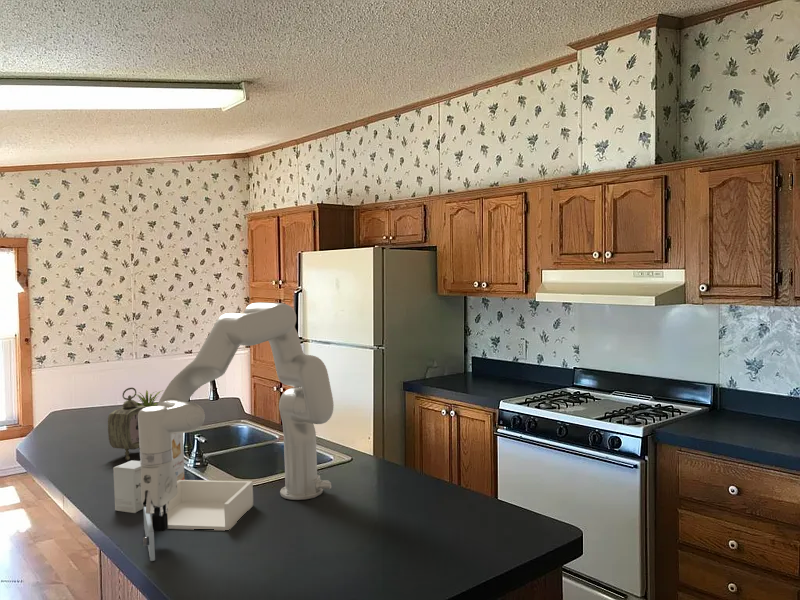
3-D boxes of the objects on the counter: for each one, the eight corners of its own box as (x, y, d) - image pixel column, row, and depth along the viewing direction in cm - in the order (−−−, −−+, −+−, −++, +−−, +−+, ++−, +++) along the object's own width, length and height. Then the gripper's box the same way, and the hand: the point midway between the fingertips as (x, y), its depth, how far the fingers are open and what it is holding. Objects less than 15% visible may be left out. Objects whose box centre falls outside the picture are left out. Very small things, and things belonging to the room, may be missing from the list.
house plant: (154, 421, 302) (153, 384, 301) (173, 424, 293) (172, 387, 293) (125, 427, 290) (123, 390, 289) (144, 432, 282) (142, 393, 281)
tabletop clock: (128, 462, 239) (124, 392, 237) (107, 460, 242) (103, 391, 240) (155, 451, 252) (152, 384, 251) (135, 449, 255) (132, 383, 254)
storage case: (253, 505, 193) (252, 481, 192) (228, 530, 175) (227, 504, 175) (180, 503, 196) (179, 479, 195) (148, 528, 178) (147, 501, 178)
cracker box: (162, 498, 201) (159, 428, 199) (144, 497, 202) (140, 428, 201) (186, 483, 214) (183, 417, 213) (169, 482, 216) (166, 417, 214)
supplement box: (135, 513, 189) (133, 469, 188) (114, 510, 191) (112, 466, 191) (153, 504, 196) (151, 461, 195) (133, 501, 198) (130, 459, 198)
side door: (155, 560, 158) (153, 531, 157) (144, 562, 157) (143, 533, 156) (148, 527, 178) (147, 501, 177) (139, 528, 177) (138, 503, 176)
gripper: (155, 466, 159) (159, 543, 160) (184, 448, 173) (188, 518, 175) (125, 466, 160) (130, 542, 161) (157, 448, 174) (161, 517, 176)
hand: (160, 529), depth 168 cm, fingers closed
